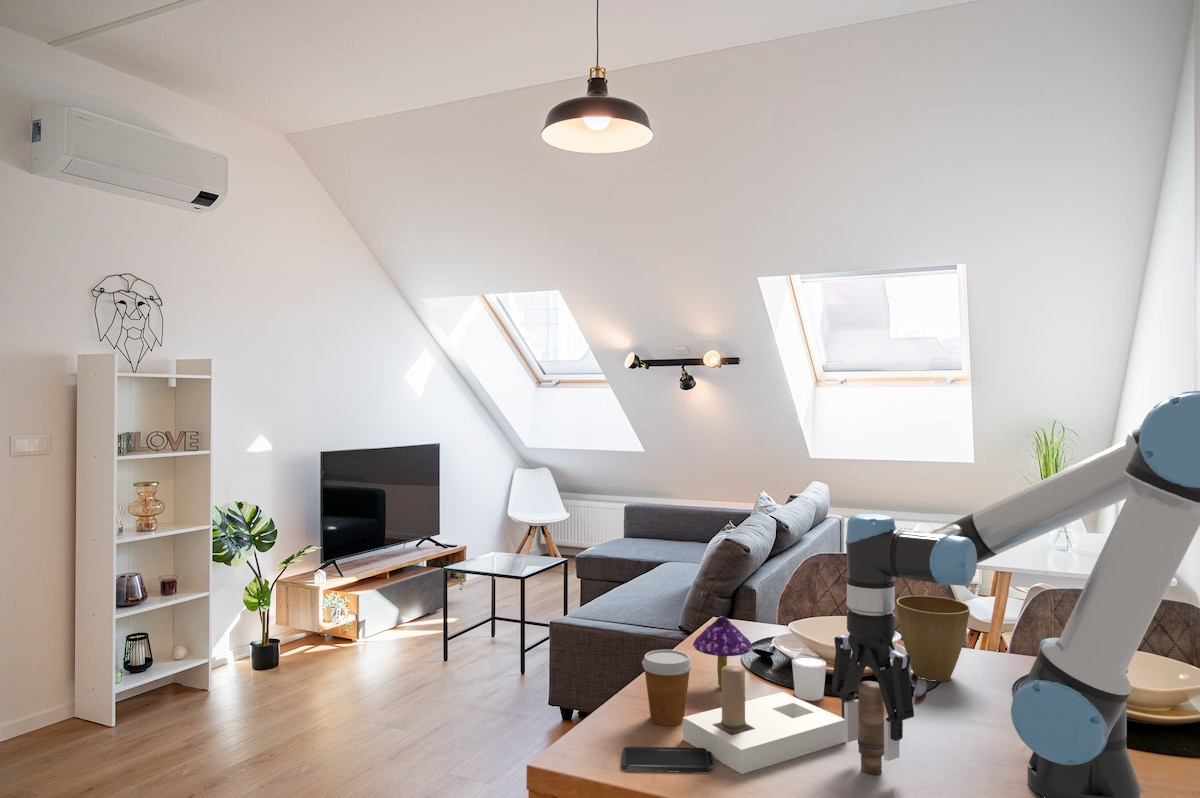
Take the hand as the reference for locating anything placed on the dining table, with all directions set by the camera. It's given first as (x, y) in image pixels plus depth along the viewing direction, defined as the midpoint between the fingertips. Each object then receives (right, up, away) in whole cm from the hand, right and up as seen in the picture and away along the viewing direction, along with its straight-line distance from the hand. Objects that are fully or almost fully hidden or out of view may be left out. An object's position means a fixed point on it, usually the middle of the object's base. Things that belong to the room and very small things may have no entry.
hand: (871, 748), depth 136 cm
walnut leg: (0, -4, 0) cm, 4 cm away
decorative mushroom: (-19, -4, +39) cm, 43 cm away
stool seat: (-15, -4, +12) cm, 20 cm away
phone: (-33, -4, +4) cm, 34 cm away
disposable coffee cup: (-32, -4, +22) cm, 39 cm away
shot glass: (-2, -4, +34) cm, 34 cm away
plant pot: (+28, -3, +45) cm, 53 cm away
